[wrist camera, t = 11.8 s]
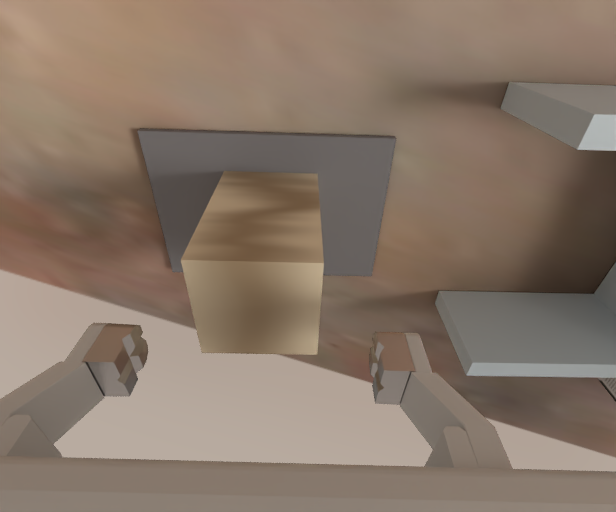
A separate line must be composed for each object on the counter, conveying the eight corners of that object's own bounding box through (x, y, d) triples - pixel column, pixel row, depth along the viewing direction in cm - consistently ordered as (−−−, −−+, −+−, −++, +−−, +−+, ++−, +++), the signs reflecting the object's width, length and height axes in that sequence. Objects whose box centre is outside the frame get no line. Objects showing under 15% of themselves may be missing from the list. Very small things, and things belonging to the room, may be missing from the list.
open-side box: (758, 90, 17) (943, 125, 12) (601, 306, 25) (671, 378, 20) (509, 82, 16) (594, 114, 12) (434, 303, 25) (466, 375, 20)
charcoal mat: (394, 136, 18) (396, 138, 18) (370, 272, 23) (371, 276, 23) (140, 128, 18) (137, 130, 17) (174, 268, 23) (172, 271, 23)
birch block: (317, 173, 19) (323, 263, 12) (313, 249, 22) (317, 354, 15) (224, 170, 19) (180, 260, 12) (233, 247, 22) (201, 352, 15)
